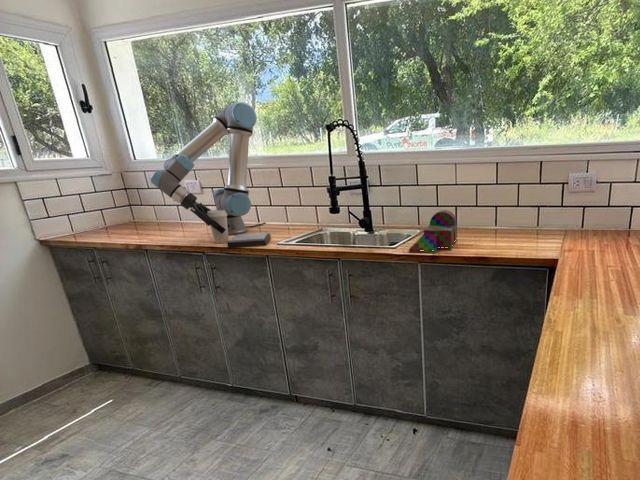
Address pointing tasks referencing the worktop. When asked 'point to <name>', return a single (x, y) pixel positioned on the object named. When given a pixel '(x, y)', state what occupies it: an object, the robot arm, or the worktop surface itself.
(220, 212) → the coffee cup
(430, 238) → the block
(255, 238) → the kitchen scale
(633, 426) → the worktop surface
